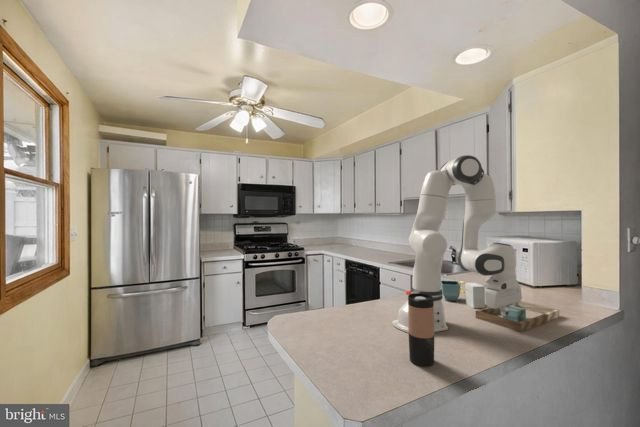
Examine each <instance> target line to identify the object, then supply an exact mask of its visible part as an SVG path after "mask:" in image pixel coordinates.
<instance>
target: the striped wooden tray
mask: <svg viewBox="0 0 640 427" xmlns="http://www.w3.org/2000/svg"><path fill="white" fill-rule="evenodd" d="M511 306H515V307H519V308H523V309H526V310H528V311H531V312H535V313H538V314H540V315H537V316H534V317H531V318H529V319H526V320H523V321H520V322H516V321H512V320H509V319H506V318H503V316H502V317H501V316H498V315H496V313H501V311H500V309H499V308H496V309H493V308H490V307H487V306H486V307H485V308H479V309H477V310H475V318H476V319H477V320H478V319H479V320H481V321H484V322H488V323H491V324H495V325H497V326H499V327H504V328H506V329H508V330H513V331H516V332H519V333H522V332H525V331H527V330H528V331H529V330H530V329H532V328H535V327H537V326H539V325H543V324H545V323H548V322H550V320H551V321H553V320H556V319H558V318H560V309H555V308H552V307H548V306H543V305H540V304H534V303H530V302H527V301H523V300H521V301H519V302H515V303H512V304H511ZM543 313H544V314H543ZM494 314H495V315H494Z"/></svg>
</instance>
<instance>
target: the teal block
mask: <svg viewBox="0 0 640 427" xmlns="http://www.w3.org/2000/svg"><path fill="white" fill-rule="evenodd" d="M526 310H527V309H523V308H519V307H515V306H511V307H510V310H509V315H506V316H502V318H505V319H509V320H512V321H516V322H519V323H520V322H523V321H526V320H527V311H526Z"/></svg>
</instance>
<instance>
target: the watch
mask: <svg viewBox="0 0 640 427" xmlns="http://www.w3.org/2000/svg"><path fill="white" fill-rule="evenodd" d="M465 283H466V281H462V280H461V281H459V284H460V285H461V284H463V285H464V286H465ZM460 293H465V290H464V291H463V290H462V289H461V287H460Z"/></svg>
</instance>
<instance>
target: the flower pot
mask: <svg viewBox="0 0 640 427" xmlns="http://www.w3.org/2000/svg"><path fill="white" fill-rule="evenodd" d="M459 283H460V281H458V280H441V289H442V293H443V295H442V296H443V297H444V299H445V301H449V302H450V301H453V302H456V301H458V299H459V298H460V294H461V292H460V288H461V284H459Z"/></svg>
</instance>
